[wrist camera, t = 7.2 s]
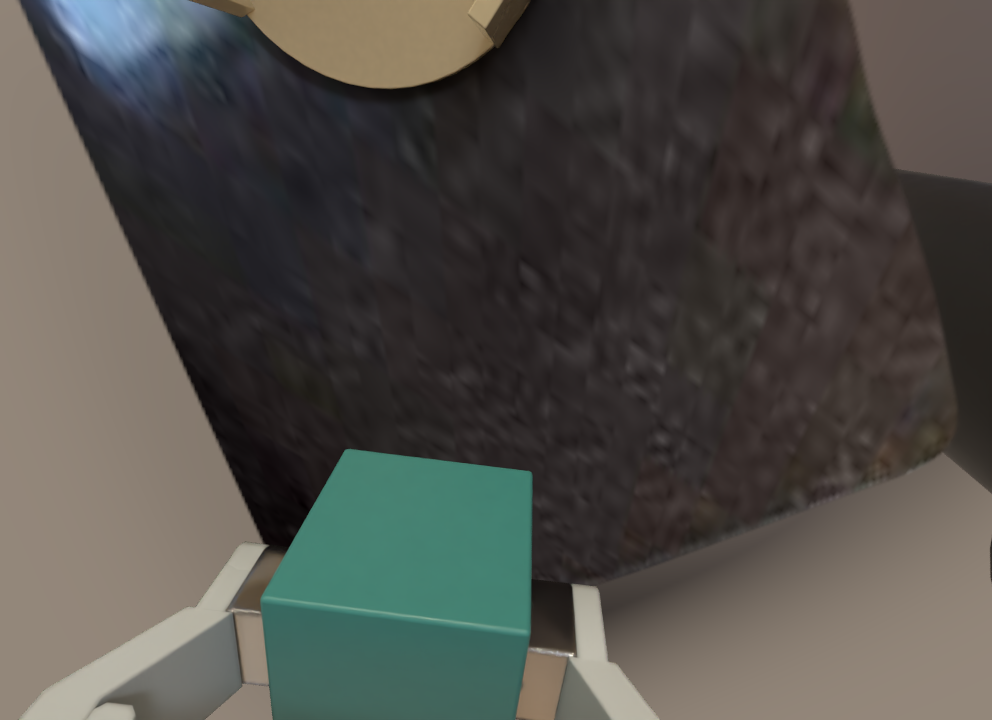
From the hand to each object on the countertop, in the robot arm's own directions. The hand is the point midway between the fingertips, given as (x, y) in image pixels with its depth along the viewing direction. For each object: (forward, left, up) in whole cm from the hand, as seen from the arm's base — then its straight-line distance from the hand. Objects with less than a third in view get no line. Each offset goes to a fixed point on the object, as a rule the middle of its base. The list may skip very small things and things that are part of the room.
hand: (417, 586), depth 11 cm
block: (0, 0, -2) cm, 2 cm away
